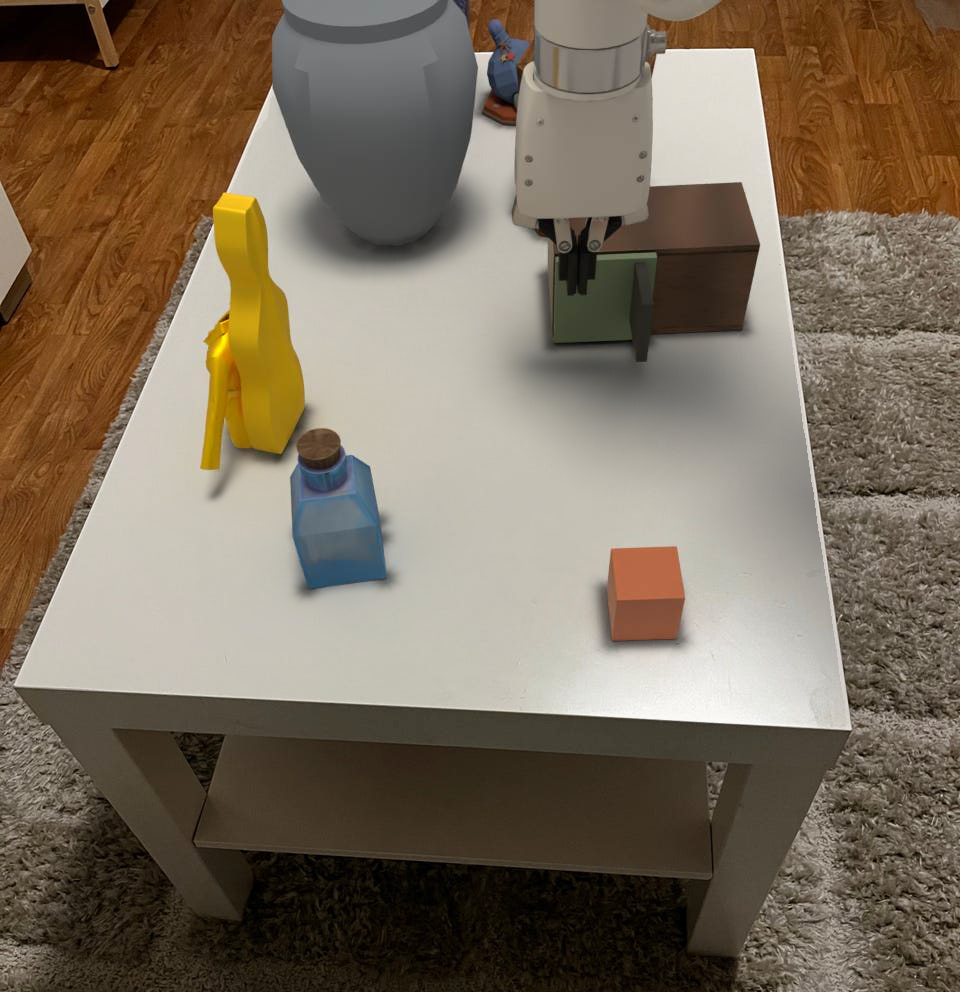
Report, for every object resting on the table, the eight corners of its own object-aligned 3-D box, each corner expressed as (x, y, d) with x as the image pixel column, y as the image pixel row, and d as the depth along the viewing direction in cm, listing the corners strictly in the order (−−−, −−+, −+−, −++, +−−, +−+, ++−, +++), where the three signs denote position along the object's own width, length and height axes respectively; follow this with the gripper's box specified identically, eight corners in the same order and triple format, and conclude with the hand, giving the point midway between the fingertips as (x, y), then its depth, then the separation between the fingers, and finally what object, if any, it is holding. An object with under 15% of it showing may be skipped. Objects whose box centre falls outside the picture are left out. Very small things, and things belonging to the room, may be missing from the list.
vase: (295, 285, 99) (236, 24, 79) (311, 181, 110) (263, -70, 90) (486, 276, 99) (475, 11, 79) (482, 172, 110) (472, -82, 90)
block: (669, 588, 75) (676, 545, 71) (676, 639, 72) (685, 597, 68) (606, 590, 75) (610, 548, 71) (612, 641, 72) (616, 600, 68)
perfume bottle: (380, 520, 80) (359, 408, 70) (386, 578, 76) (365, 468, 67) (305, 530, 80) (273, 419, 70) (308, 589, 76) (275, 480, 66)
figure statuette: (266, 362, 92) (202, 129, 74) (344, 372, 91) (298, 138, 73) (192, 496, 83) (97, 265, 65) (278, 509, 81) (206, 278, 63)
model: (476, 122, 116) (472, 39, 109) (493, 85, 121) (491, 3, 114) (575, 130, 114) (578, 45, 107) (588, 91, 119) (592, 8, 112)
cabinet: (726, 267, 98) (741, 181, 90) (742, 330, 92) (760, 244, 85) (547, 275, 98) (548, 190, 91) (552, 338, 92) (554, 253, 85)
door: (646, 333, 92) (656, 252, 85) (654, 381, 88) (665, 299, 81) (553, 337, 92) (555, 256, 85) (557, 385, 88) (559, 304, 81)
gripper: (690, 23, 68) (659, 256, 84) (479, 32, 69) (486, 262, 84) (705, 75, 64) (670, 310, 79) (480, 84, 65) (487, 316, 80)
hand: (575, 285), depth 82 cm, fingers closed
